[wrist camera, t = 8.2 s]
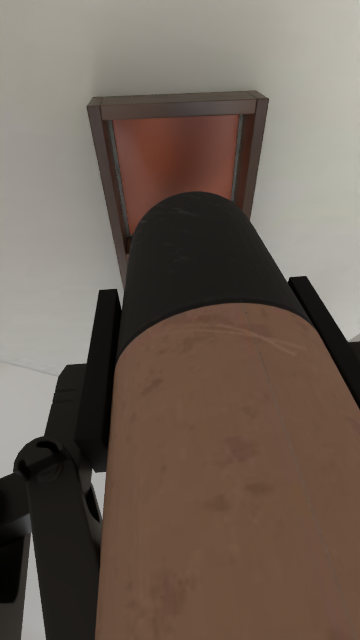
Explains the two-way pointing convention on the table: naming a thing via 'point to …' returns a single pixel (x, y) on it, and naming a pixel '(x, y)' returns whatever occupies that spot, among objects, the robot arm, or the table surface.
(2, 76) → the table surface
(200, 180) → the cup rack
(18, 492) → the robot arm
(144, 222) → the travel mug
